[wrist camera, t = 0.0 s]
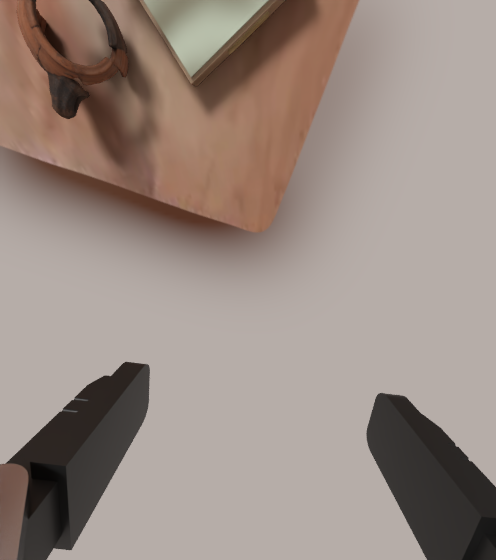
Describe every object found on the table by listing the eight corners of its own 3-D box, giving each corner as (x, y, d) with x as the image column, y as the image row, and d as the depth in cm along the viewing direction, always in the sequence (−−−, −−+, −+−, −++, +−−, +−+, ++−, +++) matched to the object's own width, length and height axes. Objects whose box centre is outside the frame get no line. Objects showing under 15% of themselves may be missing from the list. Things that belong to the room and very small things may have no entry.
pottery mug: (30, -21, 25) (0, -86, 18) (130, 34, 30) (135, -1, 23) (32, 109, 29) (8, 95, 22) (120, 139, 33) (122, 134, 27)
